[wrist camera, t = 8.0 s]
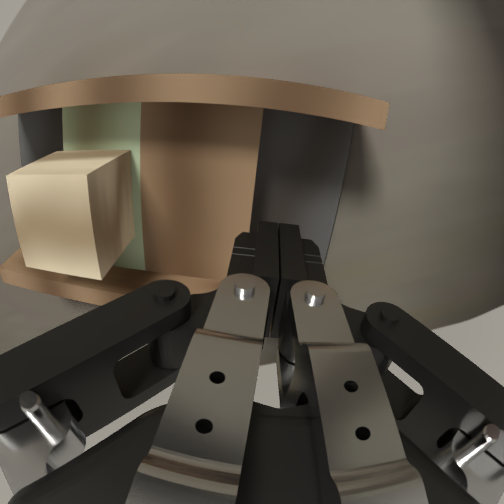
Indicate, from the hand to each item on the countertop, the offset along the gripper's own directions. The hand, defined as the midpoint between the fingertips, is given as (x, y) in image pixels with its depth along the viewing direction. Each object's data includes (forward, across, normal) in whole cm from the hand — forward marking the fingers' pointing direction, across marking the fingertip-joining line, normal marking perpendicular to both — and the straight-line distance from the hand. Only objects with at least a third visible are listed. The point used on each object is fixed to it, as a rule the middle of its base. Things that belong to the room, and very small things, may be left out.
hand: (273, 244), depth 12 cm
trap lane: (+7, +7, 0) cm, 10 cm away
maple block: (+4, +10, 0) cm, 11 cm away
